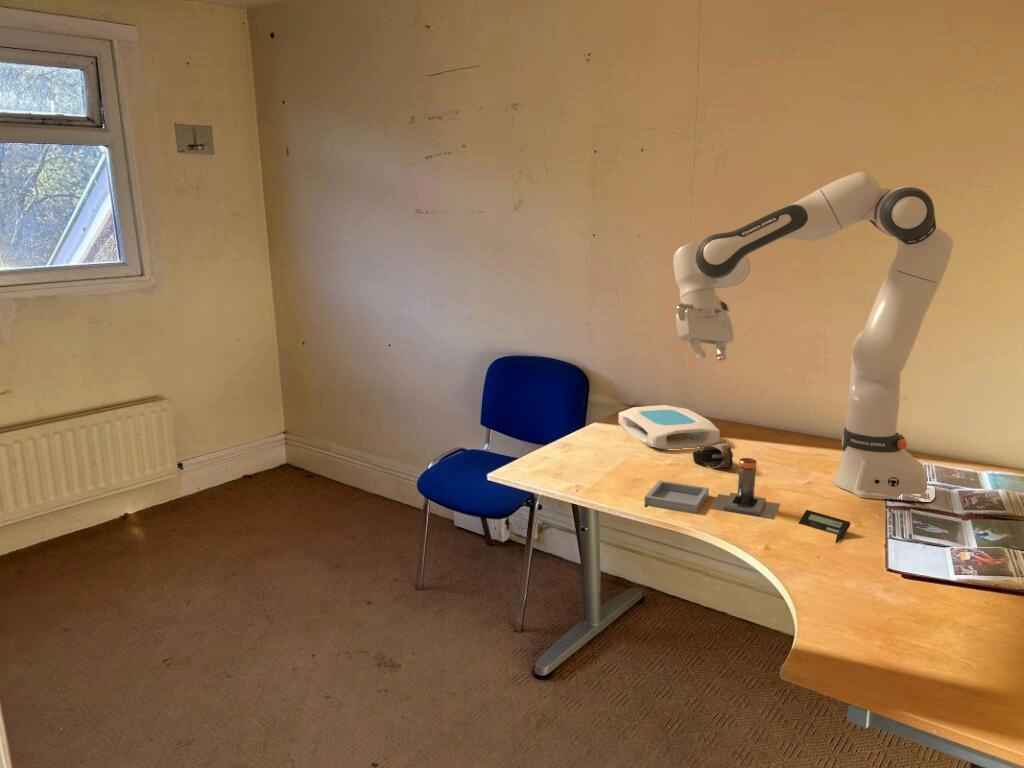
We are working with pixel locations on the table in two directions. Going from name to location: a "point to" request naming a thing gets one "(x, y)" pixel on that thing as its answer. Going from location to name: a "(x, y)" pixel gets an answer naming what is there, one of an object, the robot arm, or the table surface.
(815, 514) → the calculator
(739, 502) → the pin
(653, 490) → the tray
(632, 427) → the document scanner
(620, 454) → the table surface
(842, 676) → the table surface
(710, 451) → the caster wheel
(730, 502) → the collar plate
